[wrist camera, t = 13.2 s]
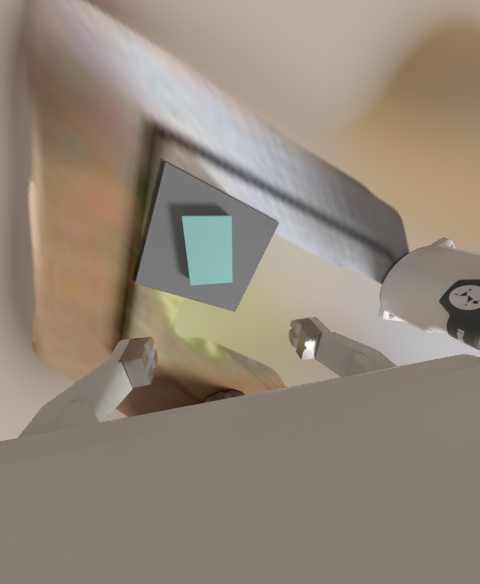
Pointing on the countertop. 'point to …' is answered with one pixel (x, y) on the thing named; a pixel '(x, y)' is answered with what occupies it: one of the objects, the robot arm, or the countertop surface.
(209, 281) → the teal board
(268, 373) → the countertop surface
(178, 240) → the mat
